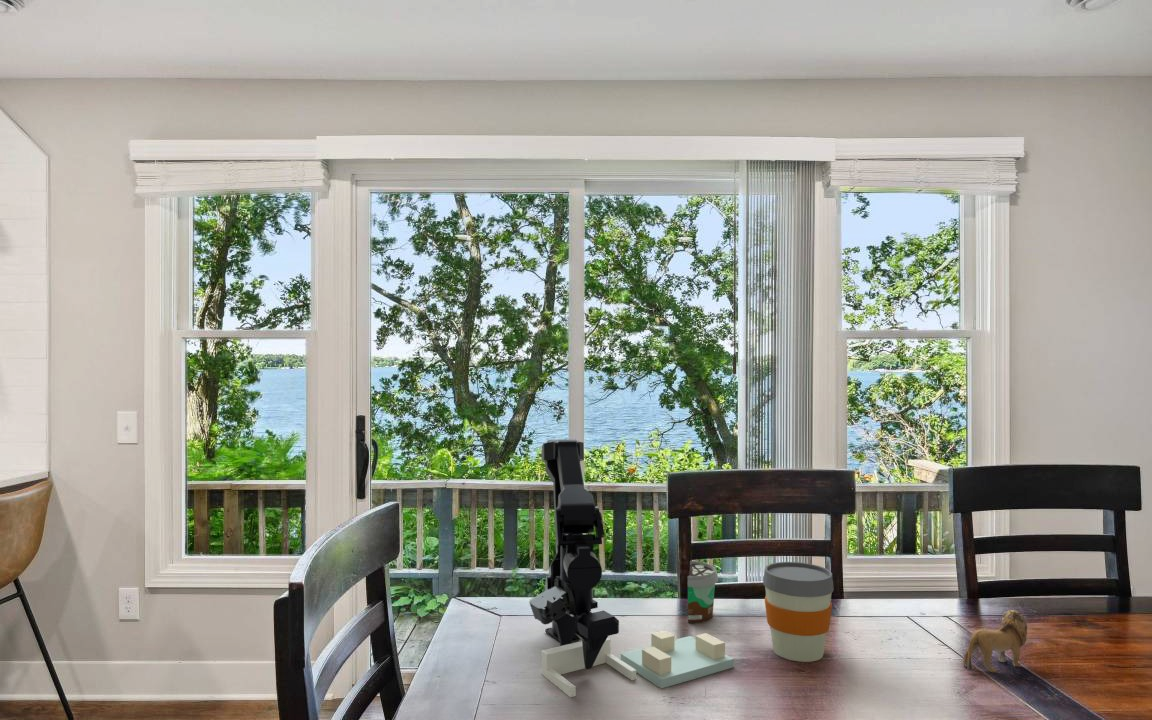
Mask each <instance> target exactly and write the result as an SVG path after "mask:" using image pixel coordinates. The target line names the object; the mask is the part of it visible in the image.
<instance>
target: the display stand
mask: <svg viewBox="0 0 1152 720" xmlns="http://www.w3.org/2000/svg"><path fill="white" fill-rule="evenodd" d="M650 636H651V637H650V639H651V642H650V643H651V645H649V646H644V647H641V648H637V649H634V650H630V651H629V650H628V651H625V652H621V653H620V660H622V661H623V662H625V663H626V664H628V665H629V666H631V667H632V668H634V669H635V670H636V674H639V675H640V676H642V677H643V678H645V679H646V680H647V681H649V682H651V683H653V684H654V685H655V686H656V687H659V688H660V689H664V688H668V687H672V686H675V685H678V684H682V683H685V682H688V681H691V680H695V679H699V678H702V677H705V676H709V675H713V674H716V673H719V672H722V671H725V670H729V669H733V668H734V667H735V658H733V657H732V656H729V654H726V643H725V641H723V640H721V639H719V638H717V637H714V636H713V635H710V634H709V633H707V632H706V633H701V634H698V635H695V637H693V636H691V635H689V636H684V637H679V638H676V639H675V635H674V634H673V633H670V632H669V631H666V630H665V629H664V630H660V631H656V632H651V635H650Z"/></svg>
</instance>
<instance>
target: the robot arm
mask: <svg viewBox="0 0 1152 720" xmlns="http://www.w3.org/2000/svg"><path fill="white" fill-rule="evenodd" d="M584 444H585V443H584V442H582V441H580V440H577V439H575V438H568V439H567V438H565V439H547V441H546V442H543V444H541V462H542V463H544V467H545V468H544V469H545V474H546V475H547V476H548V477H549V479H550V481H551V482H552V483H553V506H554V507H553V508H554V509H553V511H554V516H553V517H554V535H555V556H554V557H553V560H552V561H551V563H550V566H549V568H548V575H546V577H545V583H544V590H542V591H541V593H539V594H538V595H535V596H534V597H532V598H530V599H529V602H528V603H529V606H530V609H531V611H532V614H533V617H534V619H535V620H538V621H539V622H540V623H541V624H543V625H549V624H551V627H547V628H545V632H546V633H547V635H549V636H551V637H552V638H553V639H555V640H557V641H558V642H559V644H560V645H559V646H563V645H567V644H571V643H572V640H575V639H579V640H580V641H582V645H583V656H584V664H585V668H584V669H586V670H591V669H592V668H593V667H594V666H593V664H594V662H595V660H596V658H597V656H598V654H599V652H600V650H601V648H602V646H603V644H604V642H605V641H606V639H607V638H609V636H613V635H617V634H619V633H620V620H619V619H618V618H617V617H616V616H615V615H612V614H611V613H609V612H608V611H605V610H600V611H595V612H594V611H593V612H592V610H593V609H597V608H598V606H599V605H598V601H597V600H595V599H594V595H593V594H594V588H595V587H596V586H598V584H599V583H600V581H601V579H602V575H603V569H602V565H601V563H600V562H599V559H598V558H597V556H596V554H595V552H594V545H602V544H603V538H604V536H605V528H604V522H603V516H602V512H601V511H600V508H599V506H596V503H595V498H594V495H593V494H592V493H591V492H590V491H589V490H587V489H586V488H585V484H584V477H583V472H582V465H581V462H583V461H585V451H584V450H585V449H584V448H585V447H584V446H585V445H584ZM594 531H595V533H594Z"/></svg>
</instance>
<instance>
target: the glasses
mask: <svg viewBox="0 0 1152 720" xmlns="http://www.w3.org/2000/svg"><path fill="white" fill-rule="evenodd" d="M611 643H612V640H611V638H609V637H607V639H606V641H605V642H604V644H603V646H602V648H601V650H600V652H599V654H598V656H597V658H596V660H595V662H594V664H593V666H592V667H596V666H599V665H602V664H603V665H604V664H607V665H608V666H610V667H611V668H613V669H614V670H616V671H617V672H619V673H620V674H622V675H623V676H624V677H626V678H628V679H629V680H631V681H635V680H637V672H636V670H635V669H634V668H632V667H631V666H629V665H628V664H626V663H625V662H623V661H622V660H621V658H619V657H617V656H616V655H614V654H612V652H611V649H612V647H611V645H612V644H611ZM540 653H541V655H540V656H541V657H540V659H541V660H540V661H541V664H540V665H541V672H540V673H541V675H542V676H544V677H545V678H546V679H547V680H548V681H550V682H551V683H552V684H553V685H554V686H556V687H557V688H559V690H560V691H562V692H563V693H564V694H565V695H566V696H568V697H569V698H573V697H576V696H577V695H576V694H577V693H576V692H577V689H576V688H577V687H576V685H574V683H571V681H569V680H568V679H566V677H564V676H563V675H564V674H567V673H572V672H575V671H580V670H584V669H585V664H584V656H583V645H582V640H579V641H576V642H573V643H572V642H571V644H567V645H563V646H561V645H559V646H554V647H550V648H546V649H542V650H541V652H540Z"/></svg>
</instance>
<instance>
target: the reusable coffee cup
mask: <svg viewBox="0 0 1152 720" xmlns="http://www.w3.org/2000/svg"><path fill="white" fill-rule="evenodd" d="M762 579H763V580H762V584H763V586H764V587H765V597H764V605H765V606H764V607H765V614H766V622H767V624H768V626H769V629H770V637H771V645H772V650H773V652H774V653H775V654H776V655H777V656H779V657H781V658H783V659H785V660H789V661H794V662H800V663H801V662H803V663H810V662H816V661H819V660H822V659H823V656H824V651H825V645H826V638H827V637H826V636H827V633H828V632H829V630H830V626H831V619H832V611H833V610H832V609H833V603H832V602H831V600H832V593H834V581H833V573H832V572H831V571H830V570H829V569H828V568H826V567H823V566H820V565H817V564H814V563H813V564H811V563H807V562H806V563H805V562H800V561H799V562H797V561H781V562H779V561H778V562H773V563H770V564H767V565H766V566H765V567H764V571H763V578H762Z"/></svg>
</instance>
